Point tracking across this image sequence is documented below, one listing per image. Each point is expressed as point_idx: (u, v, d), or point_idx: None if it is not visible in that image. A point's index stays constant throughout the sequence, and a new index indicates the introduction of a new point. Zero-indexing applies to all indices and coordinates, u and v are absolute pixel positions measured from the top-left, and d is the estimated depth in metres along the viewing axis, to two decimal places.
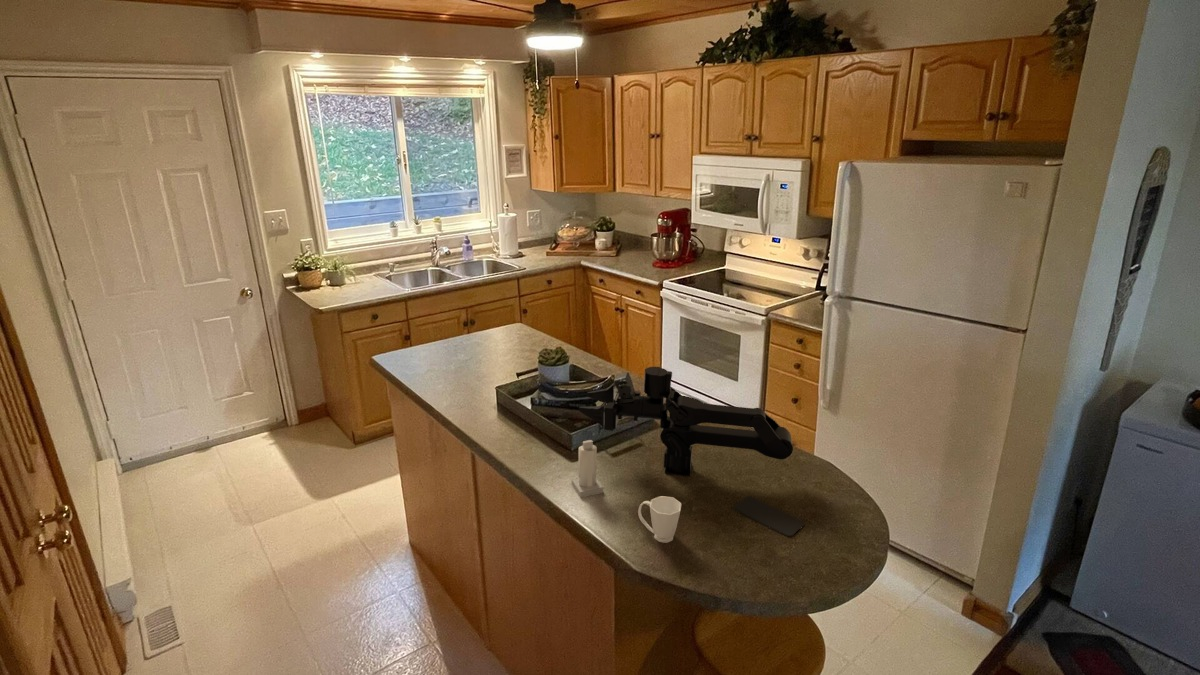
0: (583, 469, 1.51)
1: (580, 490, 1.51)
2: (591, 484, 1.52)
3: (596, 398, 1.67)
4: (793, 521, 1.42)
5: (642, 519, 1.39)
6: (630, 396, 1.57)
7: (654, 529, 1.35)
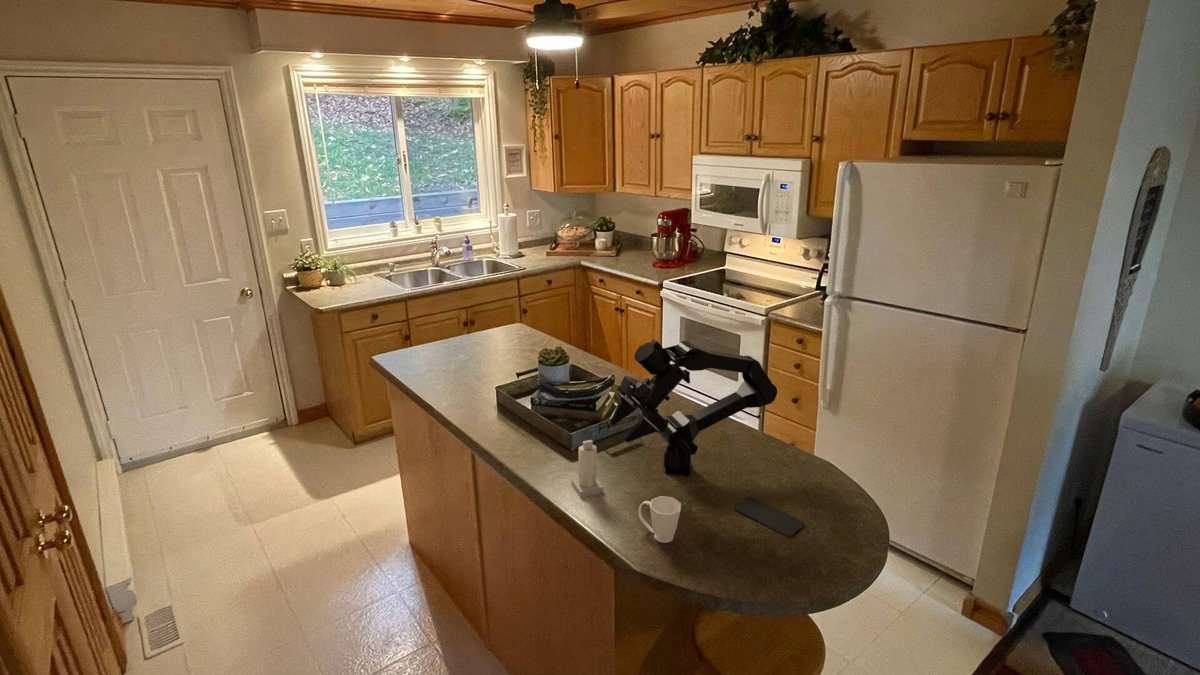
0: (583, 469, 1.51)
1: (580, 490, 1.51)
2: (591, 484, 1.52)
3: (620, 418, 1.57)
4: (793, 521, 1.42)
5: (642, 519, 1.39)
6: (648, 389, 1.49)
7: (654, 529, 1.35)
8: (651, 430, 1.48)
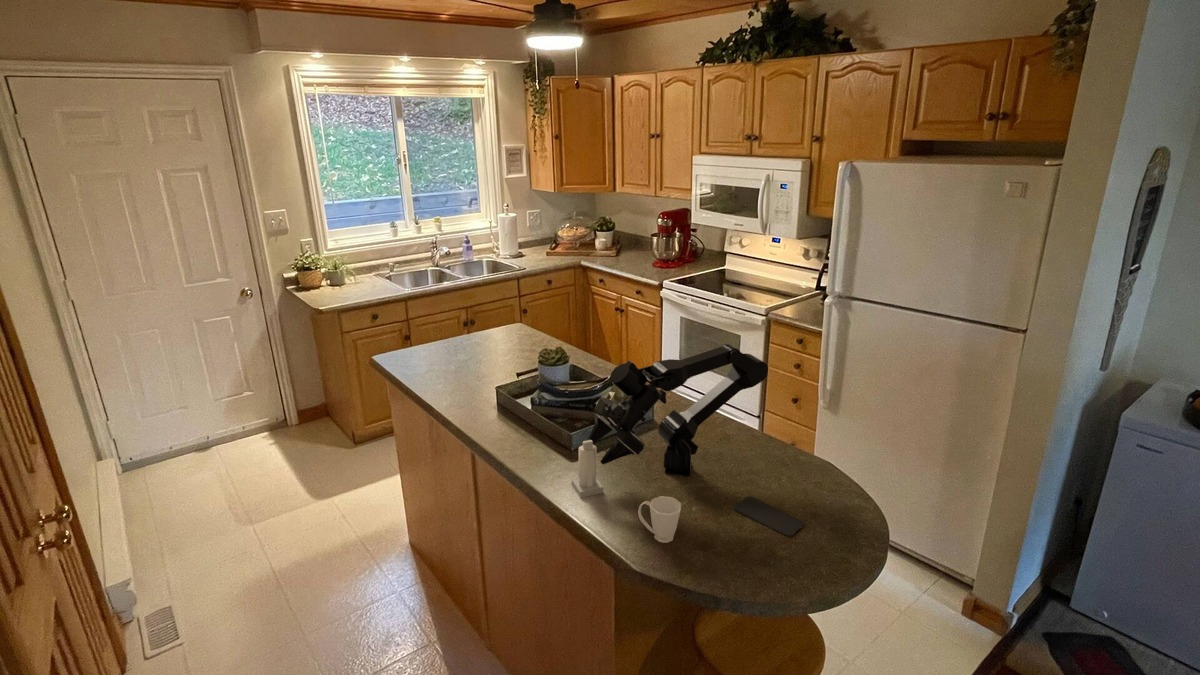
0: (583, 469, 1.51)
1: (580, 490, 1.51)
2: (591, 484, 1.52)
3: (596, 439, 1.56)
4: (793, 521, 1.42)
5: (642, 519, 1.39)
6: (623, 410, 1.49)
7: (654, 529, 1.35)
8: (627, 452, 1.47)
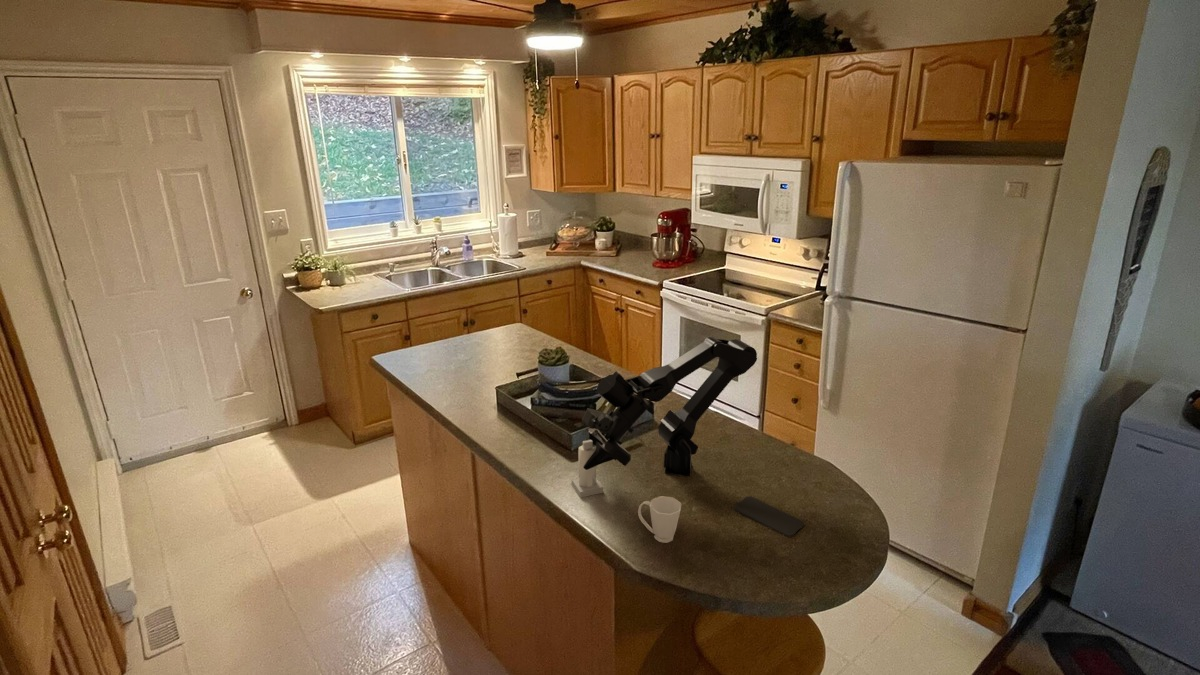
0: (583, 469, 1.51)
1: (580, 490, 1.51)
2: (591, 484, 1.52)
3: None
4: (793, 521, 1.42)
5: (642, 519, 1.39)
6: (610, 421, 1.48)
7: (654, 529, 1.35)
8: (609, 457, 1.49)
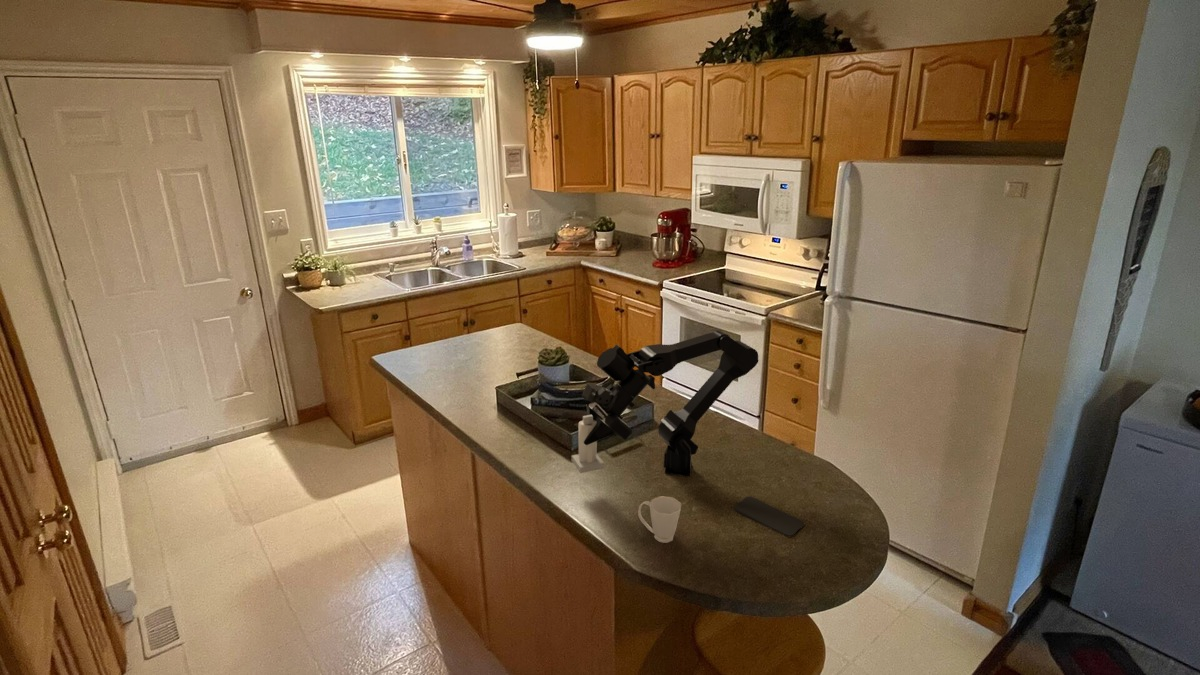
0: (583, 445, 1.48)
1: (580, 466, 1.49)
2: (591, 460, 1.50)
3: None
4: (793, 521, 1.42)
5: (642, 519, 1.39)
6: (611, 396, 1.46)
7: (654, 529, 1.35)
8: (610, 432, 1.47)
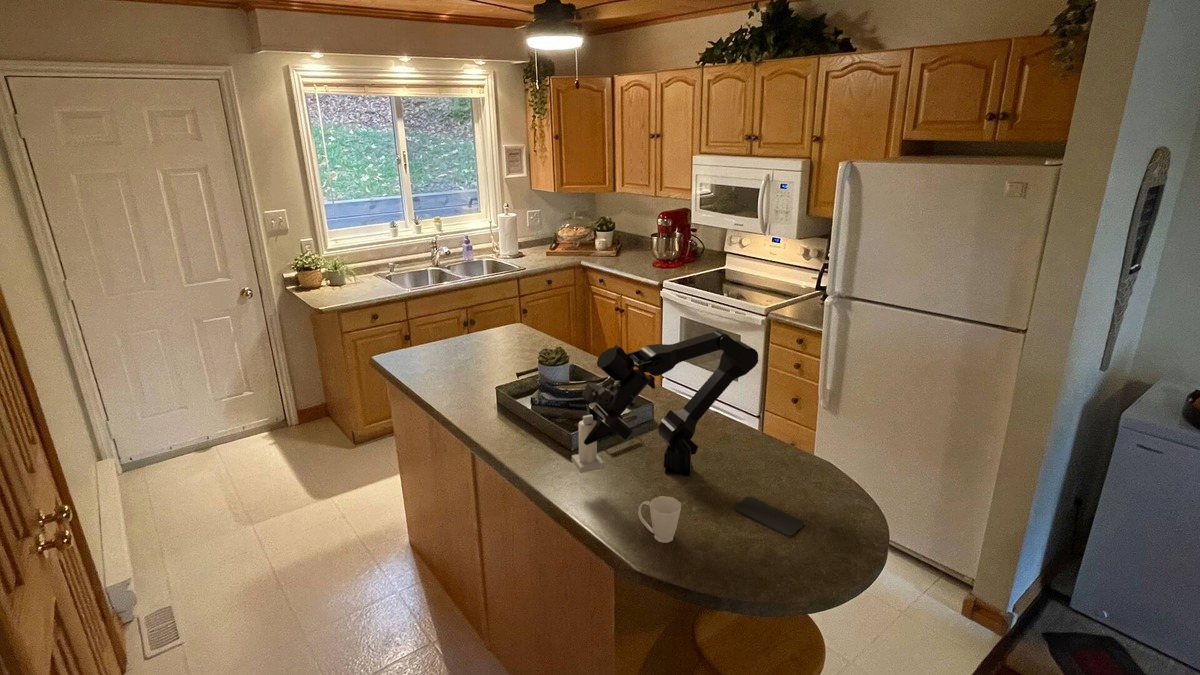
0: (583, 445, 1.48)
1: (580, 465, 1.49)
2: (591, 460, 1.50)
3: None
4: (793, 521, 1.42)
5: (642, 519, 1.39)
6: (611, 395, 1.46)
7: (654, 529, 1.35)
8: (610, 432, 1.47)
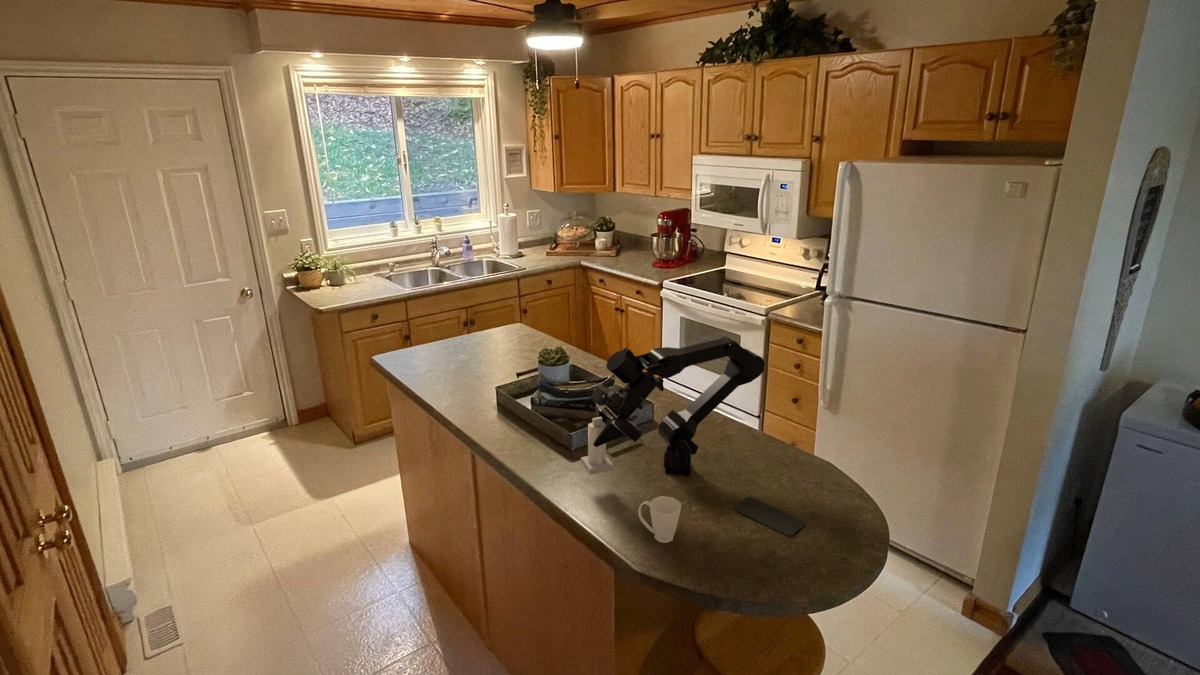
0: (593, 446, 1.50)
1: (590, 467, 1.50)
2: (601, 461, 1.51)
3: None
4: (793, 521, 1.42)
5: (642, 519, 1.39)
6: (620, 398, 1.47)
7: (654, 529, 1.35)
8: (619, 434, 1.48)
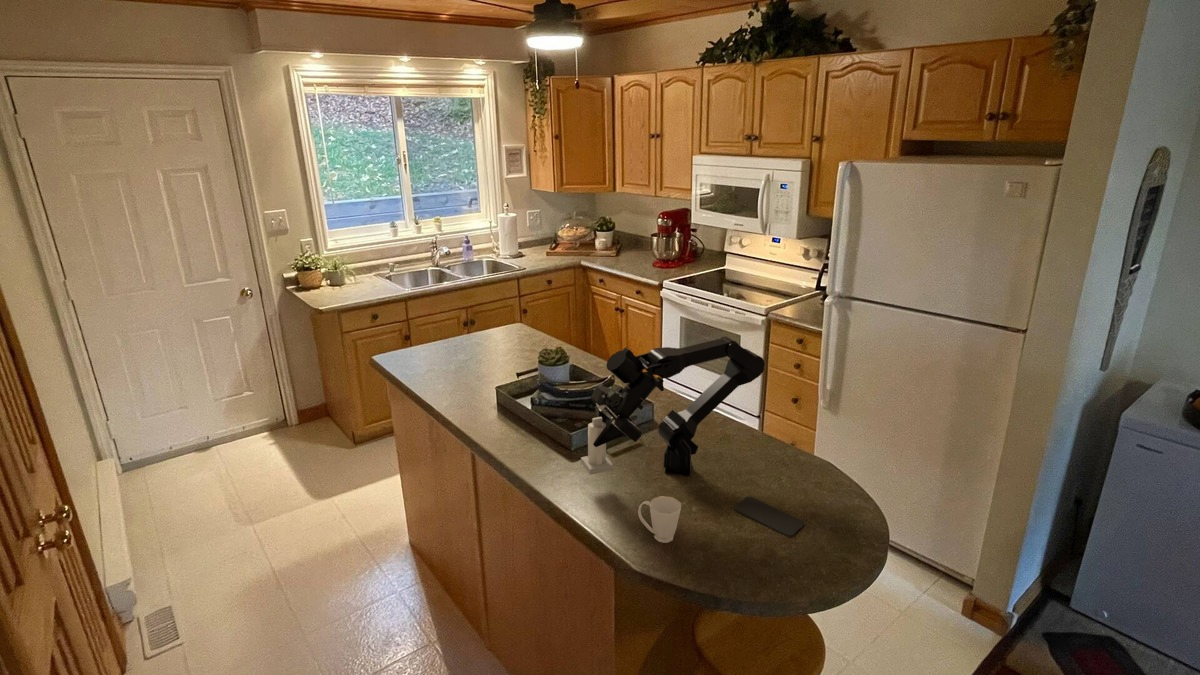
0: (593, 446, 1.50)
1: (590, 467, 1.50)
2: (601, 461, 1.51)
3: None
4: (793, 521, 1.42)
5: (642, 519, 1.39)
6: (620, 398, 1.47)
7: (654, 529, 1.35)
8: (619, 434, 1.48)
